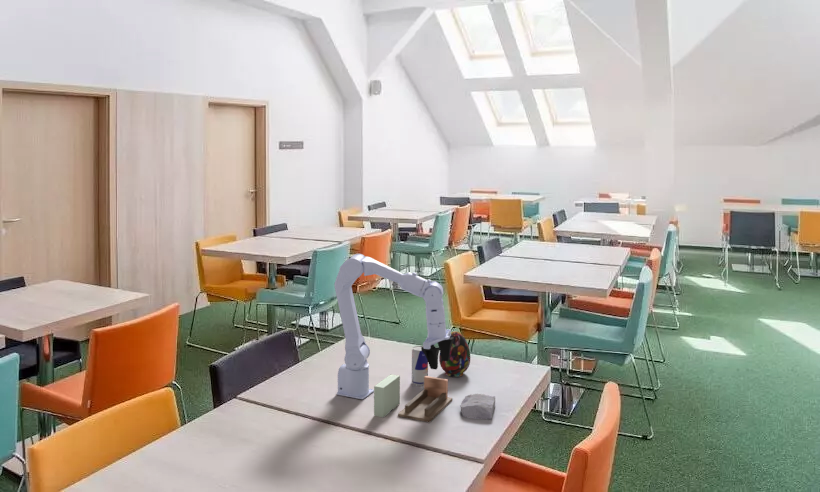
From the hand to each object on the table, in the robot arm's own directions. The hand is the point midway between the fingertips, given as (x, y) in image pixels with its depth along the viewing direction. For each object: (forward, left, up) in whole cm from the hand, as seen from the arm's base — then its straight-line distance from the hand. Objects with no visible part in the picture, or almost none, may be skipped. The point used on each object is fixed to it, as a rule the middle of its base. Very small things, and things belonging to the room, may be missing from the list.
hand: (439, 364), depth 199 cm
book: (-11, -15, -11) cm, 21 cm away
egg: (-4, +23, -11) cm, 26 cm away
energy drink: (-11, +9, -11) cm, 18 cm away
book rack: (-1, -9, -11) cm, 14 cm away
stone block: (+14, -3, -12) cm, 18 cm away
